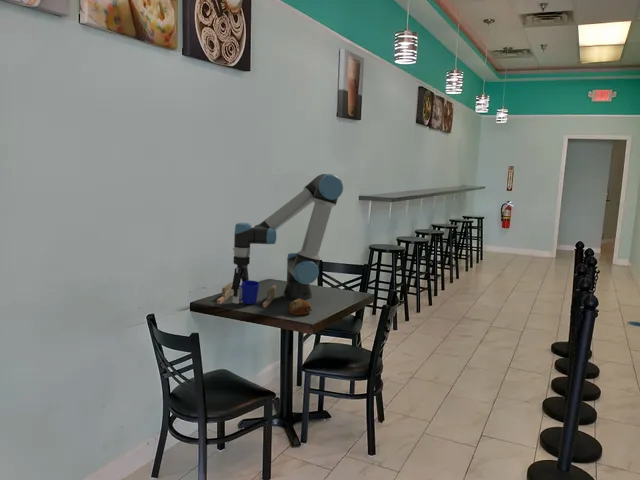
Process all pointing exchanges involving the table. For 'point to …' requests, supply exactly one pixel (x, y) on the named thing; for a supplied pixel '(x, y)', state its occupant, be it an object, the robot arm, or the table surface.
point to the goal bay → (223, 300)
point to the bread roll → (299, 307)
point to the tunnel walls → (228, 292)
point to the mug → (249, 291)
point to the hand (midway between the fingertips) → (239, 299)
